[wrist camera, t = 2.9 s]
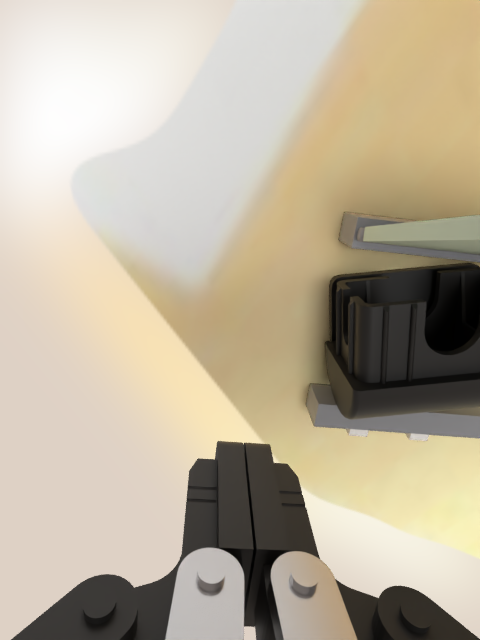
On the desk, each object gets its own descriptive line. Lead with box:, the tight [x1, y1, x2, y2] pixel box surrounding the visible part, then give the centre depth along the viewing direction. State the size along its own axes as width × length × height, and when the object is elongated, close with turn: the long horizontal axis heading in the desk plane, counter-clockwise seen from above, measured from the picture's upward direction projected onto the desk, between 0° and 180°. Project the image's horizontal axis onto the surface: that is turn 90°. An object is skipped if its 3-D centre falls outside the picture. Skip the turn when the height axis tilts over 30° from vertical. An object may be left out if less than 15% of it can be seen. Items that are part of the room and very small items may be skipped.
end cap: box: [325, 263, 480, 420], centre depth 23 cm, size 10×7×7 cm
